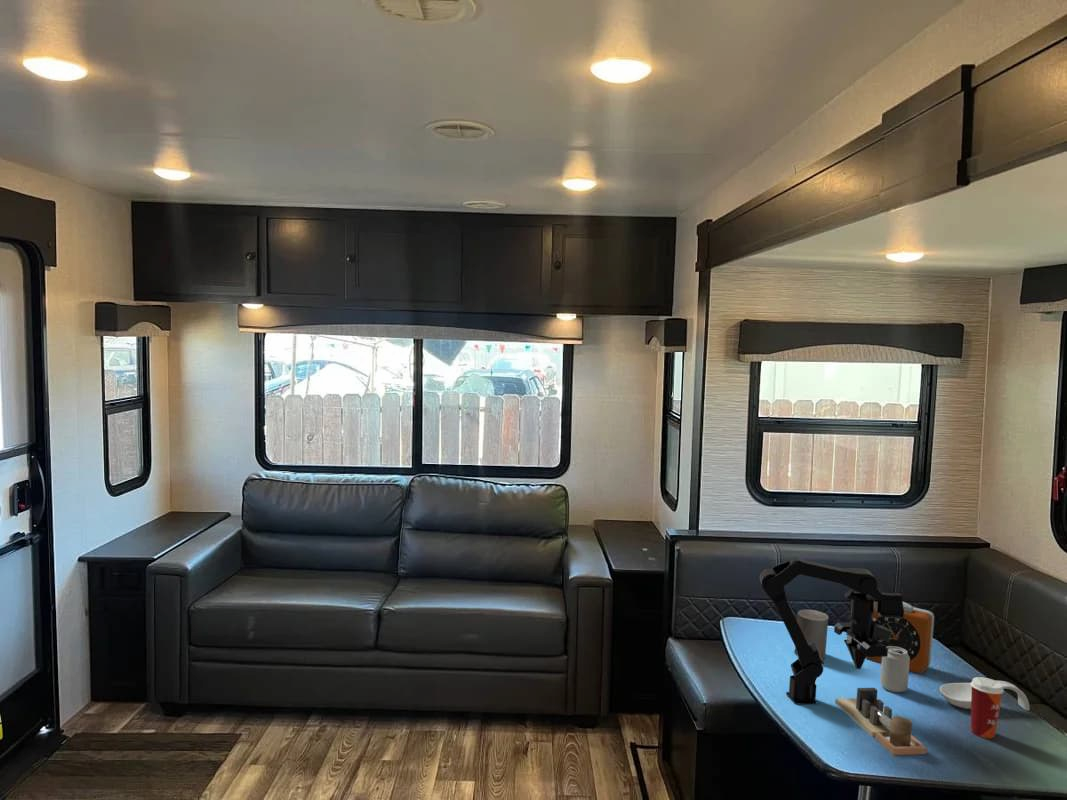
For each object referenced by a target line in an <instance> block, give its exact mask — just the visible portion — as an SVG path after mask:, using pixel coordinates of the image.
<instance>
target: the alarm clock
mask: <svg viewBox="0 0 1067 800" xmlns="http://www.w3.org/2000/svg"><path fill="white" fill-rule="evenodd" d="M902 602H903V608H904V615H903V618H902V619H898V618H887V617H880V616H879V614H878V613H876V612H875V609H874V608H873V618H875V619H877V620H879V621H880V622H881V625H882V626H884V627H886V628H887V629H889V630H890V631H892V632H893V633H892V635H891V637H890V640H889V642H886V641H885V640H882V639H880V638H877V640H872V639H870V640H872V641H879V642H880V643H882V644H883V645H885V646H886V647H887V646H895V647H900V648H903V649H905V650H906V651H907V652H908V655H909V657H910V662H909V672H912V673H915V674H923V673H924V672H926V670H927V669H928V668H929V666H931V663H932V662H931V660H932V650H933V649H932V647H933V637H934V636H933V635H934V625H935V615H934V613H933V612H932V611H930V610H927V609H922V608H918V607H915V606H913V605H911V604H910V603H908V602H905V601H903V600H902ZM874 603H875V601H874ZM865 659H867V660H871V661H874V662H876V663H879V664H882V657H868V656H867V657H866V658H865Z"/></svg>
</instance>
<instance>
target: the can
mask: <svg viewBox="0 0 1067 800" xmlns="http://www.w3.org/2000/svg"><path fill="white" fill-rule="evenodd" d="M887 648H888V656H887V657H882V663H880V664H881V665H880V677H879V681H880V682H879V683H880V685H881V686H882V688H883V689H884V690H887V691H889V692H891V693H899V694H901V693H905V691H907V690H908V685H909V674H910V673H909V672H910V671H909V662H910V657H909V655H908V652H907V651H906V650H905V649H903V648H900V647H895V646H887Z"/></svg>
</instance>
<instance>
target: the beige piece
mask: <svg viewBox="0 0 1067 800" xmlns="http://www.w3.org/2000/svg"><path fill="white" fill-rule="evenodd" d="M834 700H835V701H834V703H835V704H836V705H837V707H839V708H840V709H841V710H842V711H843V712H844V713H845V714H847V715H848V716H849V718H851V719H852V720H853V721H854V722H855V723H856V724H858V726H859V727H860V728H861V729H863V730H864V731H865V732H866V733H867V734H868V735H869V736H870V737H871V738H873V737H875V736H876V733H880V734H881V735H883V736H884V737H890V730H889V729H887V728H886V727H885V726H884V725H883V724H882V723H881V722H879V721H878V720H877V717H878V710H877V709H876V708H875V707H870V703H869V702H868V701H867V700H862V711H859V710H857V709H856V700H857V697H855V698H853V697H851V698H850V697H849V698H846V697H845V698H835V699H834ZM884 704H885V703H884V701H882V700H881V699H878V698H877V699H876V707H877V708H878V709H879V710H880V711H882V712H883V713H884V714H885V715H886V716H887V717H889V718H890V719H891V720H892V717H893V716H892V715H893V709H892V708H890V707H889V706H888V705H887V706H885V705H884ZM869 708H870V713H869Z"/></svg>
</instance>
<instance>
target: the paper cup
mask: <svg viewBox="0 0 1067 800" xmlns="http://www.w3.org/2000/svg"><path fill="white" fill-rule="evenodd" d="M997 681H998V680H994V679H992V678H988V677H980V676H978V677H977V676H976V677H973V678H972V681H971V682H969V683H970V684H971V686H972V695H971V709H970V731H971V733H972V734H974V735H976V736H978V737H981V738H984V739H994V738H995V737H996V733H997V732H996V731H997V726H998V721H999V715H1000V714H999V713H1000V710H1001V709H1000V708H1001V701H1002V696H1003V693H1004V692H1005V691H1004V690H1005V689H1003V688H1002V685H1001V684H1000V683H999V682H997Z"/></svg>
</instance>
